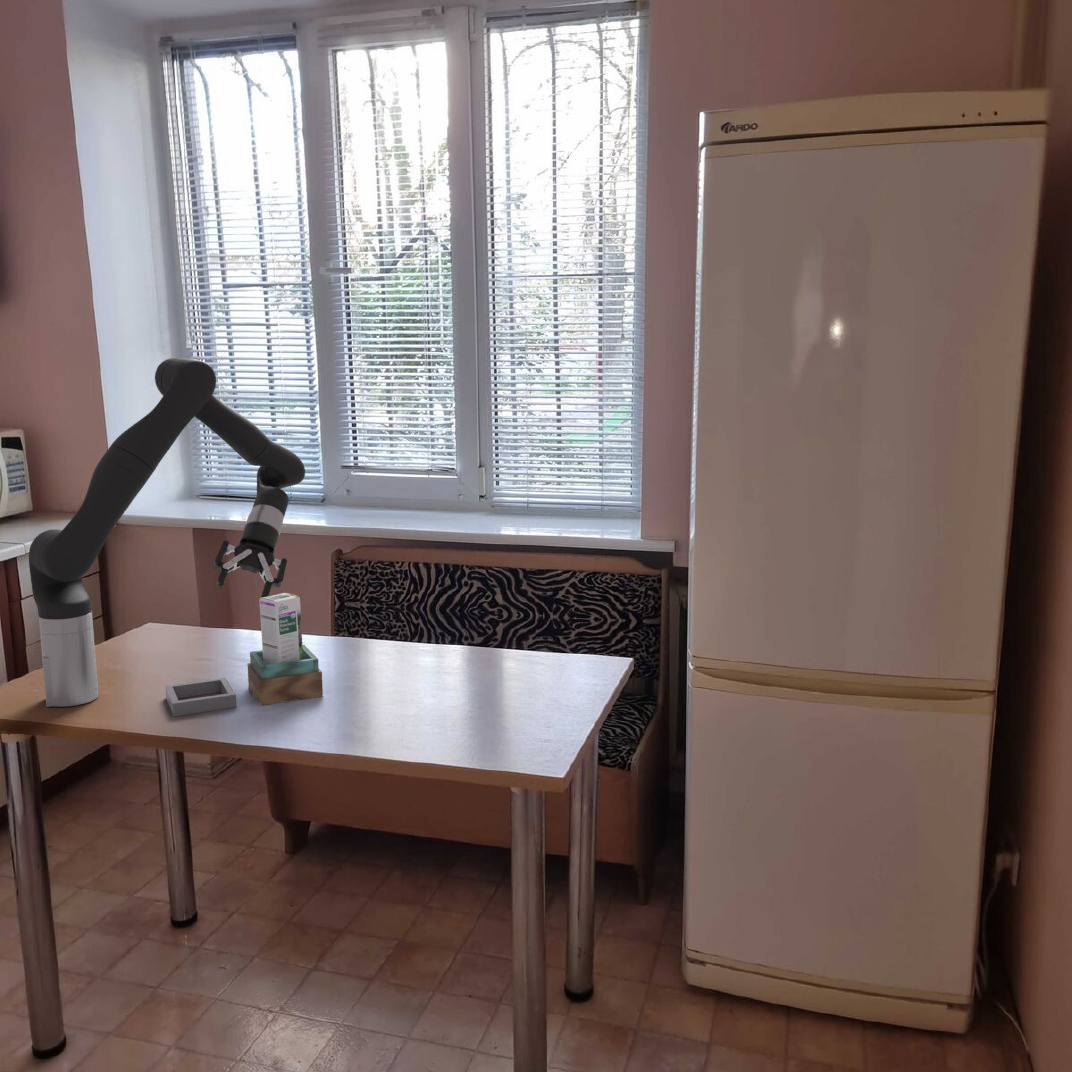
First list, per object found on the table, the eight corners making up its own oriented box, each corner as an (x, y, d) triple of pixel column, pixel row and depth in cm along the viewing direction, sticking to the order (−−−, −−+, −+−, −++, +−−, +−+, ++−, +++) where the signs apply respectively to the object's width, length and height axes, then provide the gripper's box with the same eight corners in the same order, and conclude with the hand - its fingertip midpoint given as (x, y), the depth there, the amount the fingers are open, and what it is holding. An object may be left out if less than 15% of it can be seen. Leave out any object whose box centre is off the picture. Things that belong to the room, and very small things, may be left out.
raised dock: (260, 705, 185) (259, 667, 183) (248, 687, 195) (246, 651, 194) (322, 696, 190) (321, 659, 189) (307, 678, 201) (306, 643, 199)
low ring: (173, 716, 179) (172, 703, 178) (165, 697, 189) (165, 685, 188) (236, 706, 184) (235, 694, 183) (226, 689, 194) (225, 677, 193)
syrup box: (279, 673, 188) (276, 601, 185) (262, 667, 192) (258, 596, 189) (304, 666, 192) (301, 595, 190) (286, 660, 196) (283, 591, 194)
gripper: (232, 511, 204) (209, 574, 195) (297, 531, 208) (278, 594, 199) (227, 529, 210) (204, 591, 201) (291, 549, 214) (272, 611, 204)
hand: (241, 593), depth 200 cm, fingers open, 8 cm apart
